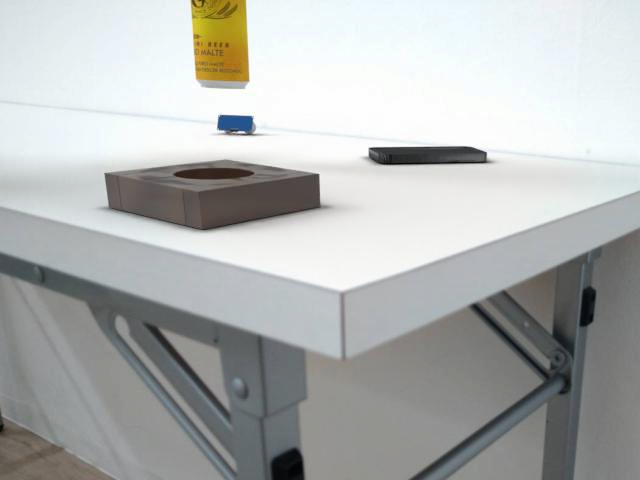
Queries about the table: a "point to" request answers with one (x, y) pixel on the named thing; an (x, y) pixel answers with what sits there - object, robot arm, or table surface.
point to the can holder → (212, 192)
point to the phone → (427, 154)
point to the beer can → (220, 43)
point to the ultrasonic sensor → (236, 124)
